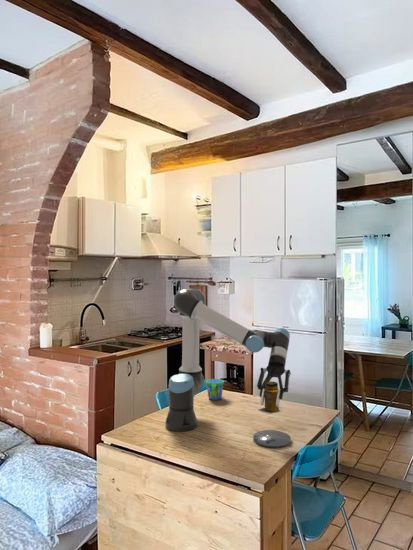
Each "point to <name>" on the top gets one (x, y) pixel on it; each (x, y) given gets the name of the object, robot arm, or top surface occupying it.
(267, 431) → the grey round disc
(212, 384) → the snack cup
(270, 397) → the condiment
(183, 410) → the robot arm
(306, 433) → the top surface
